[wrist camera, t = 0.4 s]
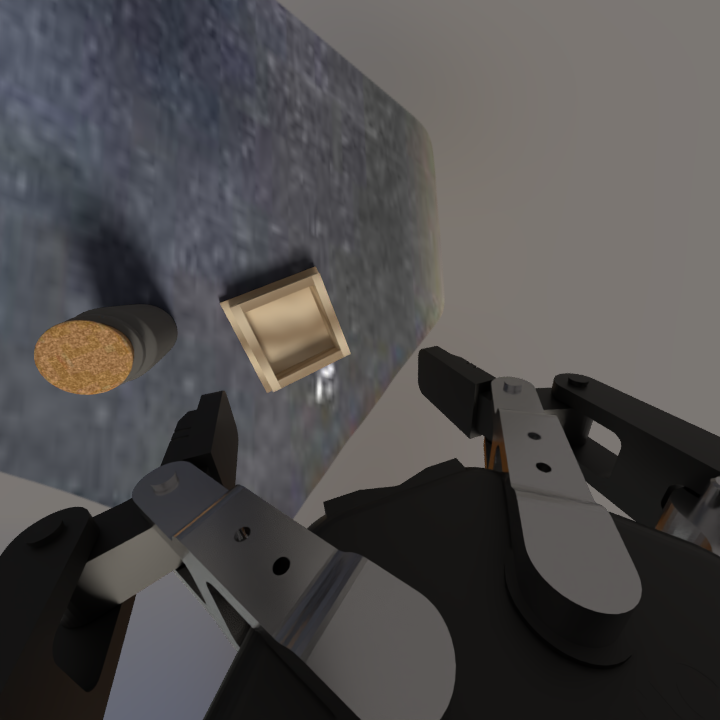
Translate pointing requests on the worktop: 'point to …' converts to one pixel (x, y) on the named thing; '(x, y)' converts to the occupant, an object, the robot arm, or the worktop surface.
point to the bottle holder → (287, 328)
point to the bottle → (104, 347)
